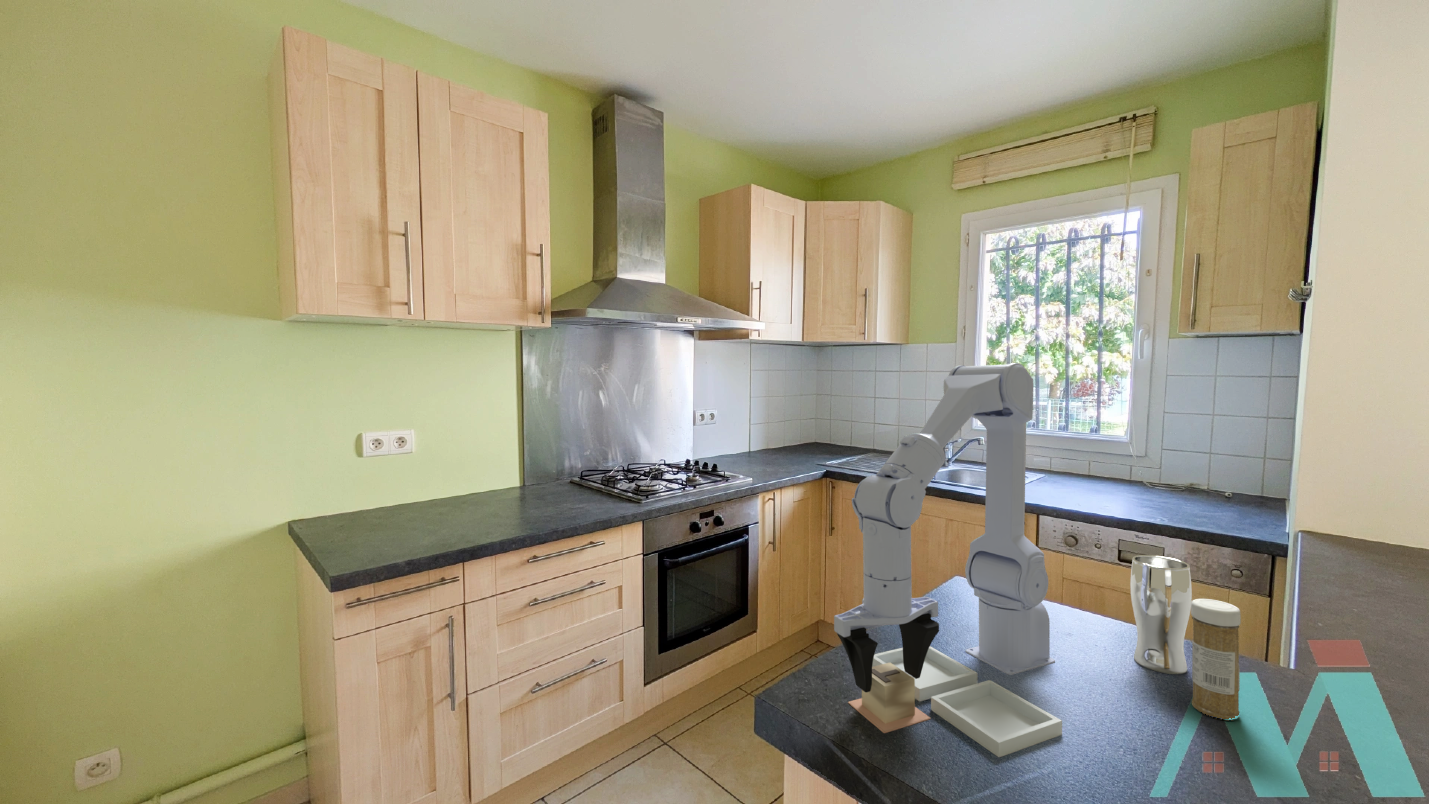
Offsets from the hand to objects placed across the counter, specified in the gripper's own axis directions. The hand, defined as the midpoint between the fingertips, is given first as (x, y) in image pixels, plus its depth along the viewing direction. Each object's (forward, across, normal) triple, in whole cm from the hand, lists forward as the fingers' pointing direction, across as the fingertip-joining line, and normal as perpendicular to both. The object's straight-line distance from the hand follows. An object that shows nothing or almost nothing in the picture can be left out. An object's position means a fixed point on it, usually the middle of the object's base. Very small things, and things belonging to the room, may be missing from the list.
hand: (888, 681), depth 70 cm
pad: (+4, 0, 0) cm, 4 cm away
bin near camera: (+4, -10, +7) cm, 13 cm away
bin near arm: (+4, -10, -5) cm, 12 cm away
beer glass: (+4, -44, +6) cm, 45 cm away
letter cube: (+4, 0, 0) cm, 4 cm away
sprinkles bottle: (+4, -37, +16) cm, 40 cm away
